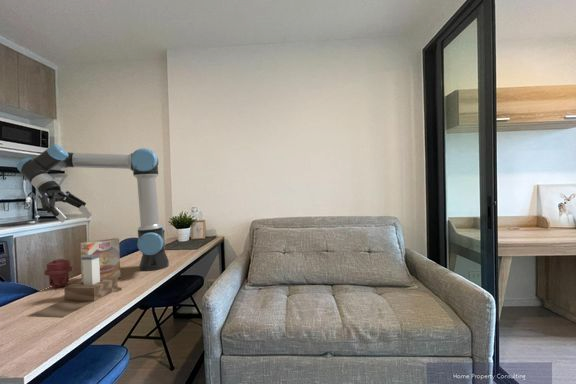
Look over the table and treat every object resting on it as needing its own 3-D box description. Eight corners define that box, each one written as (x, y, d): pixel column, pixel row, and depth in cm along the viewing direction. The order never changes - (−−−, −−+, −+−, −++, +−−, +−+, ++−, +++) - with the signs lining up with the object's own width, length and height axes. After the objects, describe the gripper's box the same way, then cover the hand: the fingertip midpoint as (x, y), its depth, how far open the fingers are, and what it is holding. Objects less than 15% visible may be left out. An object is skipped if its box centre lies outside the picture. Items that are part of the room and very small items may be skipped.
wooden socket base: (92, 289, 130) (92, 275, 129) (121, 289, 128) (121, 276, 128) (26, 319, 101) (25, 302, 101) (62, 320, 99) (61, 303, 99)
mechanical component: (78, 283, 139) (57, 290, 129) (61, 282, 141) (39, 289, 131) (77, 257, 138) (56, 263, 128) (59, 257, 140) (38, 262, 130)
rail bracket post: (91, 291, 123) (90, 254, 123) (101, 292, 123) (100, 254, 122) (83, 296, 119) (81, 257, 118) (93, 296, 118) (91, 257, 118)
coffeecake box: (89, 285, 135) (87, 243, 134) (81, 283, 138) (79, 242, 138) (121, 276, 148) (119, 238, 147) (113, 274, 151) (111, 237, 151)
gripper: (65, 191, 145) (94, 220, 144) (12, 192, 120) (46, 228, 119) (75, 180, 144) (103, 210, 143) (23, 179, 120) (57, 215, 118)
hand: (77, 218), depth 131 cm, fingers open, 13 cm apart
